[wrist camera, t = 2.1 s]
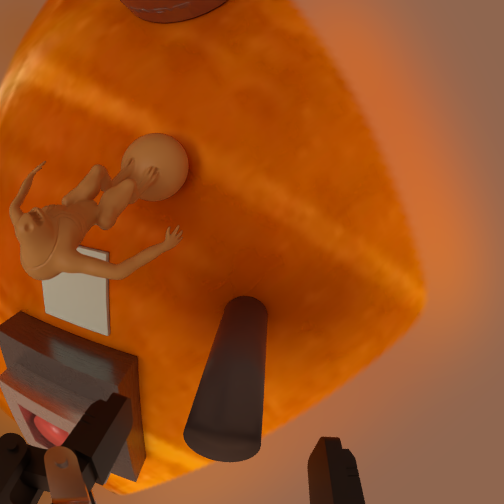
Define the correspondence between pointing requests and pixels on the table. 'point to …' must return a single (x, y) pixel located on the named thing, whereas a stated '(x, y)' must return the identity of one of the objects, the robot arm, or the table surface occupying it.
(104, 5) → the table surface
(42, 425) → the button
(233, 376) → the dark grey cylinder
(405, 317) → the table surface
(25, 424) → the box
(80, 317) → the pad
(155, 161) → the figurine
